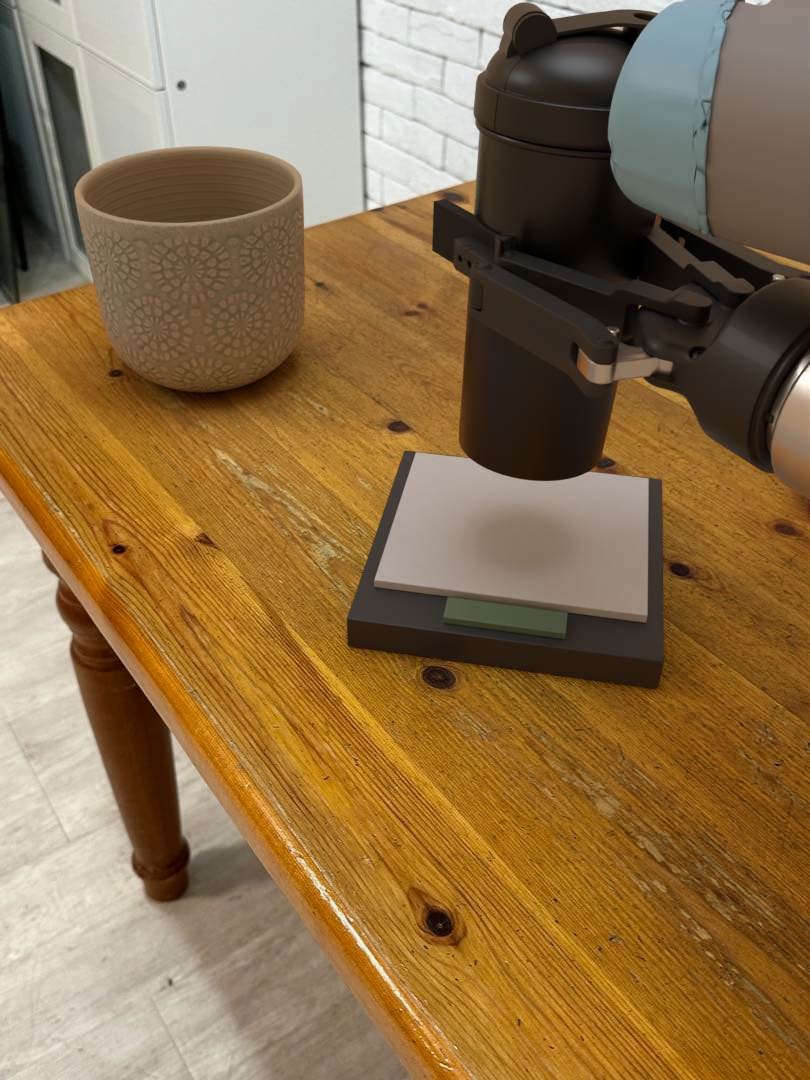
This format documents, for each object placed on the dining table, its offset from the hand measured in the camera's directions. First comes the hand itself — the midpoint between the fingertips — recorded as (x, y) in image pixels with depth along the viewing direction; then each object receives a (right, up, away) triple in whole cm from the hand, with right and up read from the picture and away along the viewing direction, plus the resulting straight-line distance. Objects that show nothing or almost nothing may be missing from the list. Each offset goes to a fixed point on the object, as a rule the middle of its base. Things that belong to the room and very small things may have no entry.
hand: (488, 213), depth 57 cm
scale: (+3, -20, +10) cm, 22 cm away
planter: (-21, -3, +31) cm, 38 cm away
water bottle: (+3, -12, +4) cm, 13 cm away
